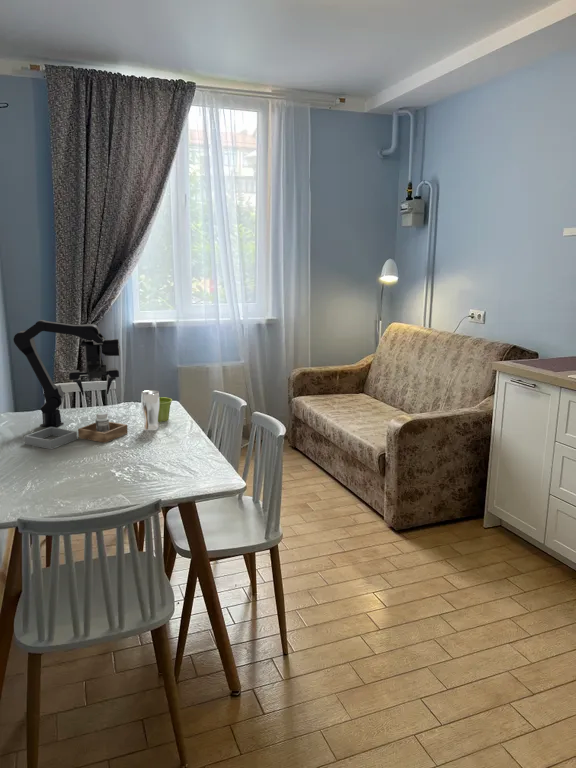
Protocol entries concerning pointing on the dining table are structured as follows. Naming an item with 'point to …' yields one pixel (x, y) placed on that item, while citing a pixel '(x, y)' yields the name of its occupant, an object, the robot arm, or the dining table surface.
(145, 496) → the dining table surface
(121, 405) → the dining table surface
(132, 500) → the dining table surface
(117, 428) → the walnut bin
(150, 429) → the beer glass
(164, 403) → the plant pot
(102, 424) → the pill bottle
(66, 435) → the bin
